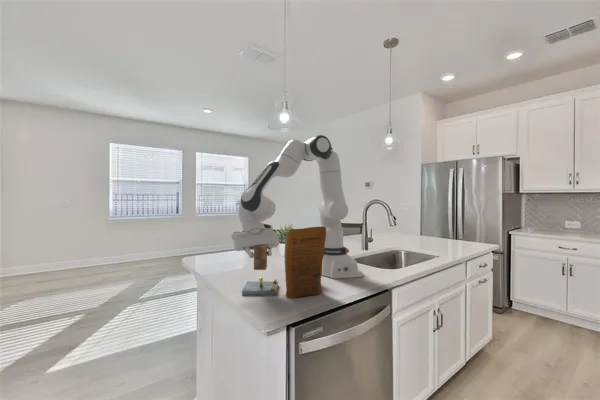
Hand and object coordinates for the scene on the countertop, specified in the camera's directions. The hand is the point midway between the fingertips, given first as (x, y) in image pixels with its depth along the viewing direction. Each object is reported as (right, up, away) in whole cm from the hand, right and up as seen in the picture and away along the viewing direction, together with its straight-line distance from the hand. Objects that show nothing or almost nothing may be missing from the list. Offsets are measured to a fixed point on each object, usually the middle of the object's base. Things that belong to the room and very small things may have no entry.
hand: (261, 256), depth 117 cm
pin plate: (0, -15, +1) cm, 15 cm away
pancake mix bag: (+19, -15, -5) cm, 25 cm away
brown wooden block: (0, -5, +1) cm, 5 cm away
